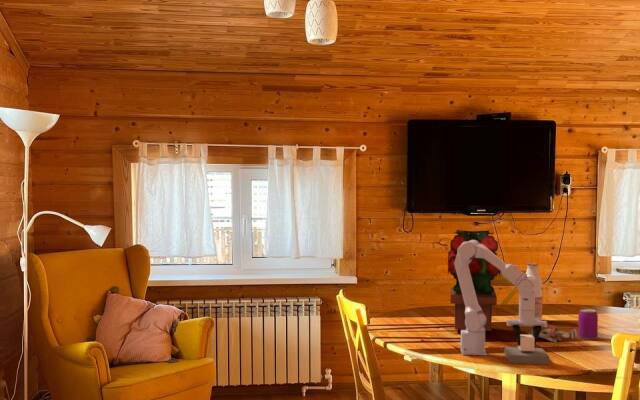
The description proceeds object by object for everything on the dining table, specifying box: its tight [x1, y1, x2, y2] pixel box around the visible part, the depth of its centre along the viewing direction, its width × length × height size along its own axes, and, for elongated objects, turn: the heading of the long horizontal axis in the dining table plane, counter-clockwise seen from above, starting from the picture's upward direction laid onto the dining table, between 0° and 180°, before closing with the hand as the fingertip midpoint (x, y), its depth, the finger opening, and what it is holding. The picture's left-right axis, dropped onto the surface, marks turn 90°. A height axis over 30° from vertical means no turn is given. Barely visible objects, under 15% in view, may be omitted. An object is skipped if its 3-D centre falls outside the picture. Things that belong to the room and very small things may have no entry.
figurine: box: [527, 327, 578, 344], centre depth 271 cm, size 6×6×20 cm
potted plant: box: [447, 229, 501, 335], centre depth 289 cm, size 22×22×45 cm
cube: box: [517, 334, 535, 351], centre depth 242 cm, size 5×5×5 cm
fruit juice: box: [525, 262, 543, 321], centre depth 311 cm, size 9×9×28 cm
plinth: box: [504, 346, 550, 366], centre depth 242 cm, size 14×12×3 cm
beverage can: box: [577, 308, 599, 341], centre depth 276 cm, size 8×8×12 cm
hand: (526, 345), depth 242 cm, fingers closed on cube, 5 cm apart
